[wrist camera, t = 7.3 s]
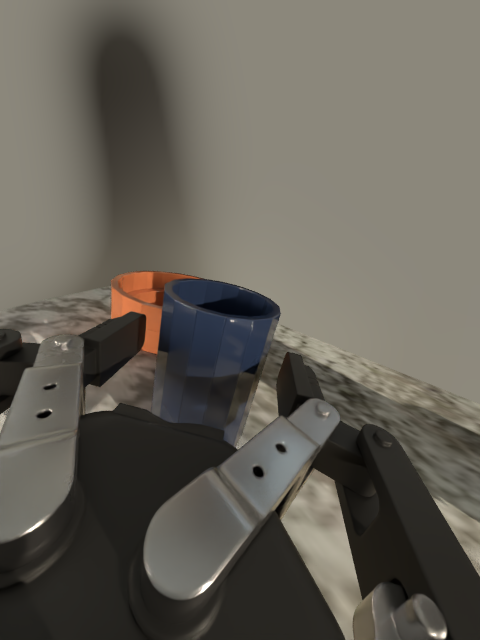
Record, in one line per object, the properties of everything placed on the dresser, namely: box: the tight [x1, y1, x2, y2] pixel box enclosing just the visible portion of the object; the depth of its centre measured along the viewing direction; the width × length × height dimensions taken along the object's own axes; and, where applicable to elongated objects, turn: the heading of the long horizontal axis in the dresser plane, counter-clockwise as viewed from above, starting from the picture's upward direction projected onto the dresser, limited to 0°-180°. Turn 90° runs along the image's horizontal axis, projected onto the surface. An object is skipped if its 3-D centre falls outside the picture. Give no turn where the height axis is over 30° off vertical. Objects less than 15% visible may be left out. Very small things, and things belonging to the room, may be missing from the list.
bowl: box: [110, 271, 203, 354], centre depth 26 cm, size 14×14×5 cm
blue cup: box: [151, 278, 281, 447], centre depth 13 cm, size 6×6×9 cm
